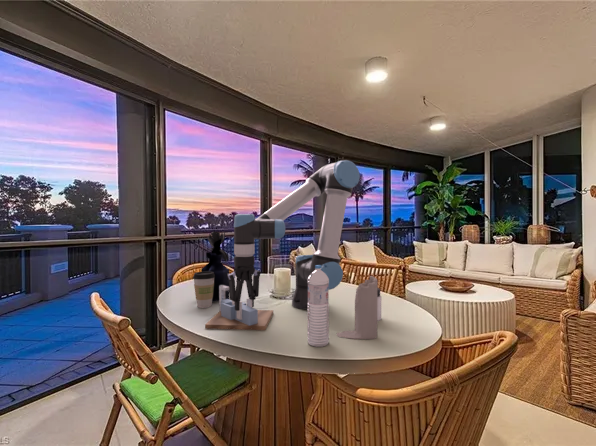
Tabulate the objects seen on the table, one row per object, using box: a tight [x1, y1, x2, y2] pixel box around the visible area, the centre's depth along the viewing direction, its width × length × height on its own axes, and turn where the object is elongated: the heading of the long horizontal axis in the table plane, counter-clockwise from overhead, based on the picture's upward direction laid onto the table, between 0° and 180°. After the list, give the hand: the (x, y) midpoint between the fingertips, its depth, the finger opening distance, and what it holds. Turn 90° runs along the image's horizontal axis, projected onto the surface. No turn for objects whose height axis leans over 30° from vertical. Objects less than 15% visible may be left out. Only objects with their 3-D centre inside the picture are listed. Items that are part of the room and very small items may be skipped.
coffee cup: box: [192, 271, 215, 309], centre depth 145 cm, size 10×10×15 cm
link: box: [221, 298, 259, 326], centre depth 124 cm, size 21×7×5 cm, turn 43°
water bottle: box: [306, 265, 330, 348], centre depth 102 cm, size 7×7×25 cm
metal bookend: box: [336, 275, 378, 340], centre depth 109 cm, size 7×14×20 cm, turn 88°
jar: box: [377, 287, 382, 322], centre depth 127 cm, size 9×8×12 cm
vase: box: [201, 227, 230, 303], centre depth 158 cm, size 14×12×35 cm
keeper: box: [218, 285, 229, 312], centre depth 132 cm, size 6×2×12 cm, turn 41°
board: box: [204, 309, 274, 331], centre depth 125 cm, size 22×19×2 cm
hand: (244, 317), depth 120 cm, fingers closed on link, 4 cm apart
